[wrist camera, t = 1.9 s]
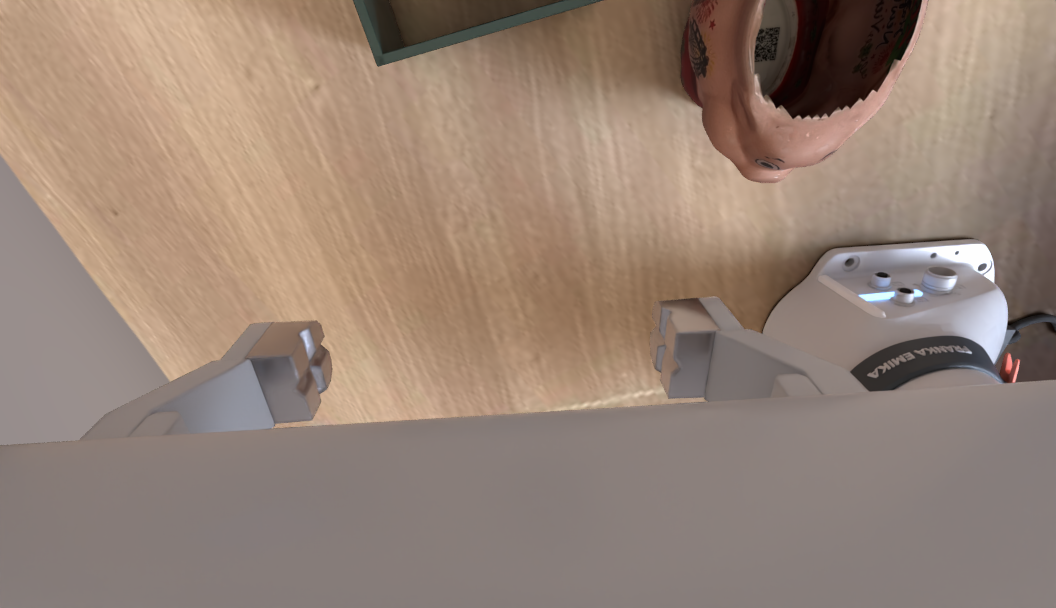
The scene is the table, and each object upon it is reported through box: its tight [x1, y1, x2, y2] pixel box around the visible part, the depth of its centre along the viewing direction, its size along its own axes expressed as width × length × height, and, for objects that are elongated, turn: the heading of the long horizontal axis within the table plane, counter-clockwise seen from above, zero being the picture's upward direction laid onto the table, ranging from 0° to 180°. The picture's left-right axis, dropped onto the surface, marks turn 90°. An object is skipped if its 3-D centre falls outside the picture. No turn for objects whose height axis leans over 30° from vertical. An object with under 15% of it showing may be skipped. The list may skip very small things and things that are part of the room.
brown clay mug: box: [681, 0, 928, 183], centre depth 32 cm, size 20×12×14 cm, turn 9°
